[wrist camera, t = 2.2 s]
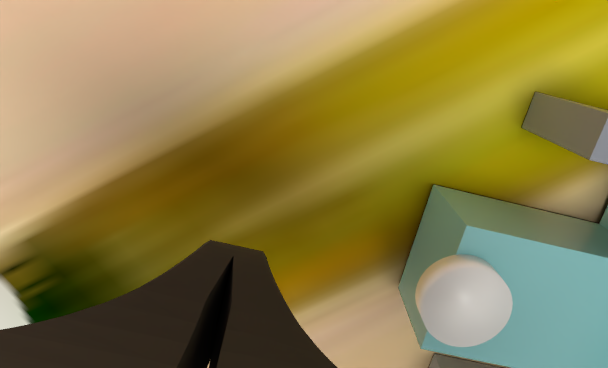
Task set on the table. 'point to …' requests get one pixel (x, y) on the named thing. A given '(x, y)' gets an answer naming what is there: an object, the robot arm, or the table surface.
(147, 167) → the table surface
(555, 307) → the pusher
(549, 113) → the grey tray
